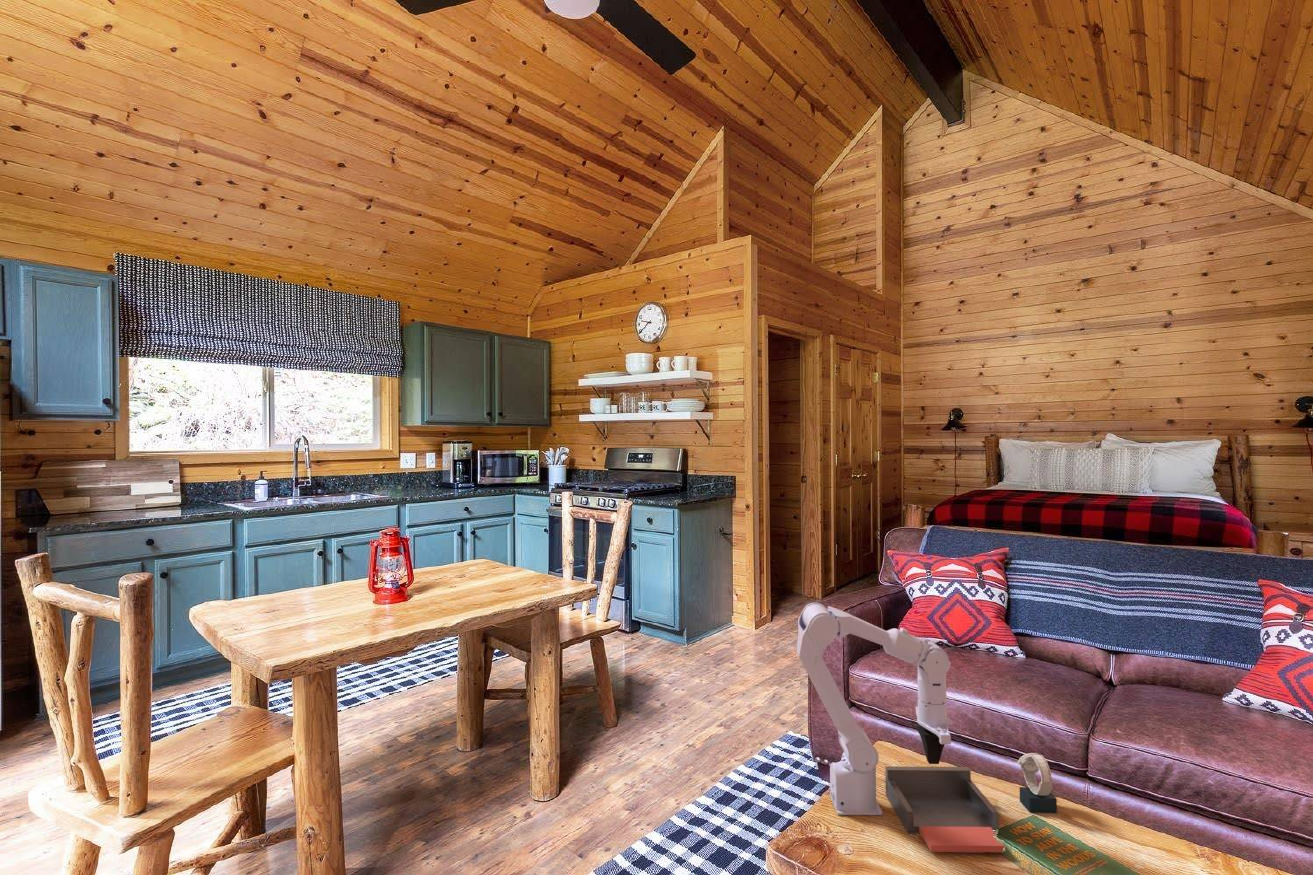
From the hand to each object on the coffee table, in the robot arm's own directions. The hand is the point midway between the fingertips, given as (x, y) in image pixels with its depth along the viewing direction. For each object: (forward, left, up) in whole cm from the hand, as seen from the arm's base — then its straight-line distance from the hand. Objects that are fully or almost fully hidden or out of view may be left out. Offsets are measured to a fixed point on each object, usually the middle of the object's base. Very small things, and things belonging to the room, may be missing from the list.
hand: (932, 762), depth 140 cm
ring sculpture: (+22, 0, -10) cm, 24 cm away
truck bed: (0, -3, -9) cm, 10 cm away
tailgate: (0, -11, -8) cm, 14 cm away
